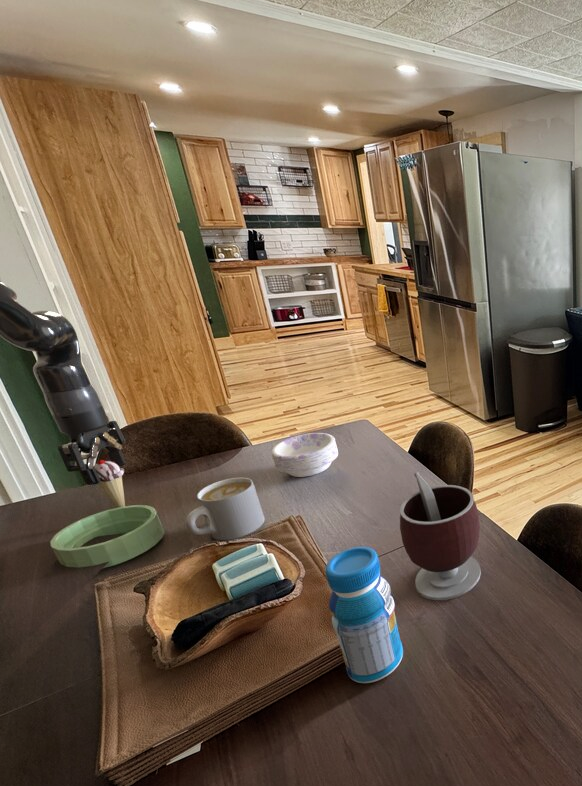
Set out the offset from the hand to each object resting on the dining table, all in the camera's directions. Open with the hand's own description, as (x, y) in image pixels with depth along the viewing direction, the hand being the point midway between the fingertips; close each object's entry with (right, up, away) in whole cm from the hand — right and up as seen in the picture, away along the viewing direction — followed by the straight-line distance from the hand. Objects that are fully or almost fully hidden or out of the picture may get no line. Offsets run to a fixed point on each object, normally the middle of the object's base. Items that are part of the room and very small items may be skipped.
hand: (107, 474), depth 107 cm
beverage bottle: (+76, -26, -32) cm, 86 cm away
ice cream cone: (0, -11, +4) cm, 11 cm away
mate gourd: (+81, -19, -13) cm, 84 cm away
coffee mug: (+28, -13, 0) cm, 31 cm away
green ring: (+9, -15, -7) cm, 19 cm away
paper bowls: (+30, -2, +26) cm, 40 cm away
